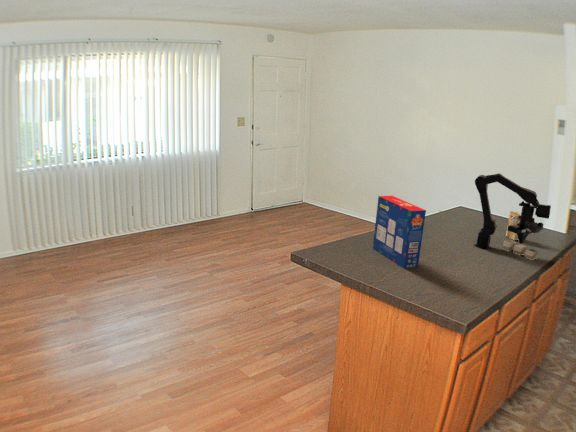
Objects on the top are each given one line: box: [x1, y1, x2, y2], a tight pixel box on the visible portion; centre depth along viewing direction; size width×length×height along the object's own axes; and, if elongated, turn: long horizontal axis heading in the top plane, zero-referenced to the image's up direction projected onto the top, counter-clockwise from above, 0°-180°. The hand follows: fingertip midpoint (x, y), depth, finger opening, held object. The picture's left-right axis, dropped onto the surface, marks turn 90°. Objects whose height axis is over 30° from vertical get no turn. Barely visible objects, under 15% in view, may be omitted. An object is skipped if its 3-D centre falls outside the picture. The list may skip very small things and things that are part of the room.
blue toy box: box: [372, 195, 427, 269], centre depth 249 cm, size 28×8×28 cm, turn 22°
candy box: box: [505, 210, 521, 241], centre depth 294 cm, size 9×4×15 cm, turn 9°
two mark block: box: [502, 239, 517, 252], centre depth 275 cm, size 4×4×5 cm
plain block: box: [512, 244, 528, 255], centre depth 269 cm, size 4×4×4 cm
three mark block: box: [523, 248, 540, 259], centre depth 263 cm, size 4×4×5 cm
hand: (521, 243), depth 268 cm, fingers closed
